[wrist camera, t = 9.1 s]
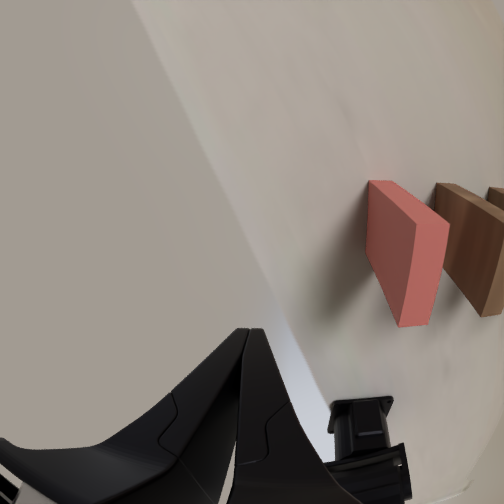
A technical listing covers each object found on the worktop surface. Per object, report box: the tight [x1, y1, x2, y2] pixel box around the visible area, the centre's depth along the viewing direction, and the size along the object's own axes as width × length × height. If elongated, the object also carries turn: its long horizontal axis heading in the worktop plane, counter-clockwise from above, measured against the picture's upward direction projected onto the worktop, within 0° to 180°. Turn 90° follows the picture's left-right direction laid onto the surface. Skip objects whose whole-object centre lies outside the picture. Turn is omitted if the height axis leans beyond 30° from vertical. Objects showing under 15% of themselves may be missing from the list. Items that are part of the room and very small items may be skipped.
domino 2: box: [434, 183, 504, 317], centre depth 14 cm, size 2×5×8 cm, turn 5°
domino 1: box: [365, 180, 450, 327], centre depth 14 cm, size 2×5×8 cm, turn 5°
